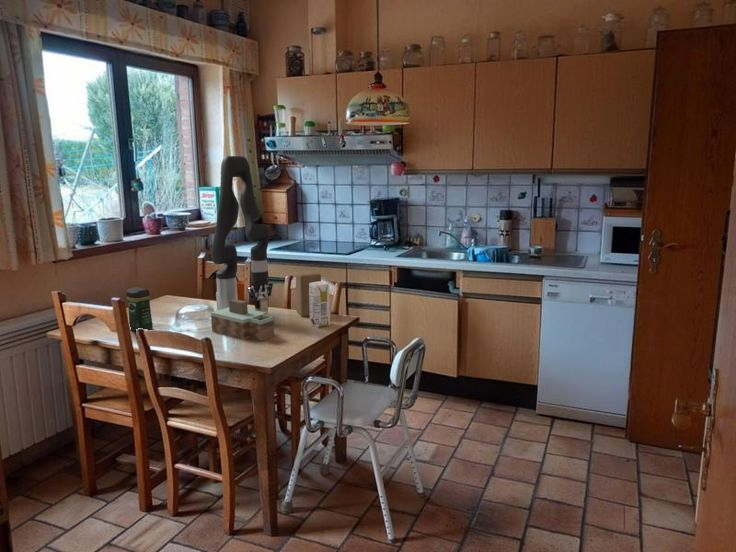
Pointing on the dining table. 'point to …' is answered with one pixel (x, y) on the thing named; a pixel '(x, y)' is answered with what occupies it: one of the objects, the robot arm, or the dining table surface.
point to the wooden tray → (243, 329)
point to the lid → (241, 313)
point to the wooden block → (304, 290)
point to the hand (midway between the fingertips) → (261, 307)
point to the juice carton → (319, 304)
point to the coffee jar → (139, 308)
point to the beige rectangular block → (263, 305)
